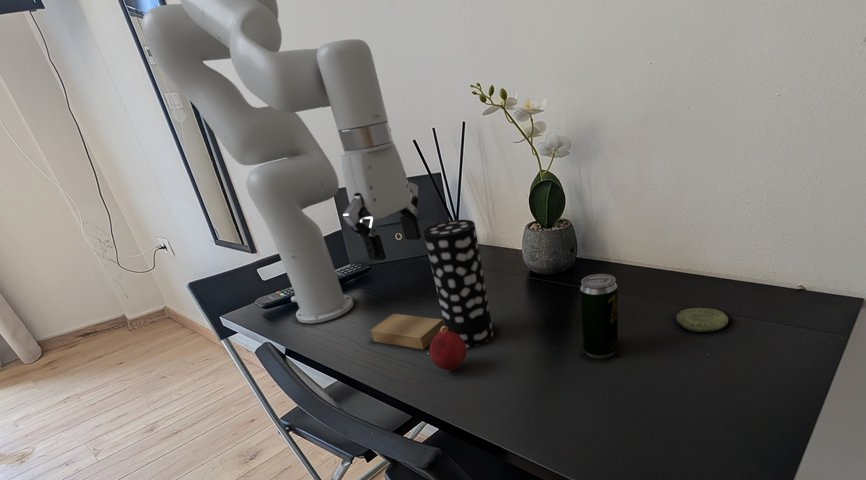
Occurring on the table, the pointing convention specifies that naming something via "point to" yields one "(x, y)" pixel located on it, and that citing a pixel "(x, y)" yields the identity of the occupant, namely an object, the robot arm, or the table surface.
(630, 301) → the table surface
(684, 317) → the medallion
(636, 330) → the table surface
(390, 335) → the flat wooden block
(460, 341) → the red pomegranate
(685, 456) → the table surface
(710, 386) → the table surface
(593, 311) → the beer can
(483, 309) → the spotted tube
